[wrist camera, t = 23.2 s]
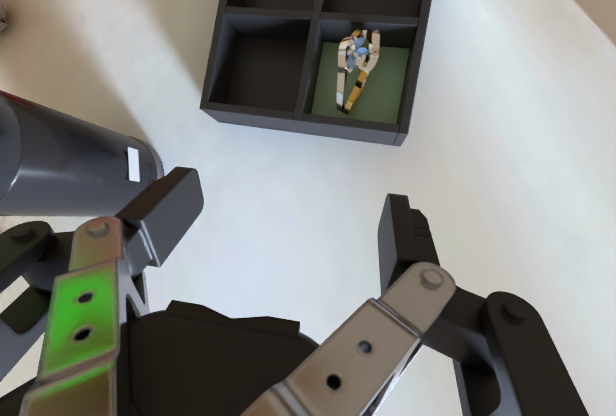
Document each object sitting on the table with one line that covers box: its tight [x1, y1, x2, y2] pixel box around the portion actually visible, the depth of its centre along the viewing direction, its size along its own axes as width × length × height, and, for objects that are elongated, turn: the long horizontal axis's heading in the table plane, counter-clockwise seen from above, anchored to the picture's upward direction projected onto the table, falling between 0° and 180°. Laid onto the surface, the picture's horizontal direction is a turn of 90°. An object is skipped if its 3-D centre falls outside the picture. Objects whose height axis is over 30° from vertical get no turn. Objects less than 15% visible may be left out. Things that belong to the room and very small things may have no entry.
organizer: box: [200, 0, 432, 146], centre depth 29 cm, size 20×20×4 cm
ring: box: [336, 27, 381, 116], centre depth 25 cm, size 7×3×8 cm, turn 153°
